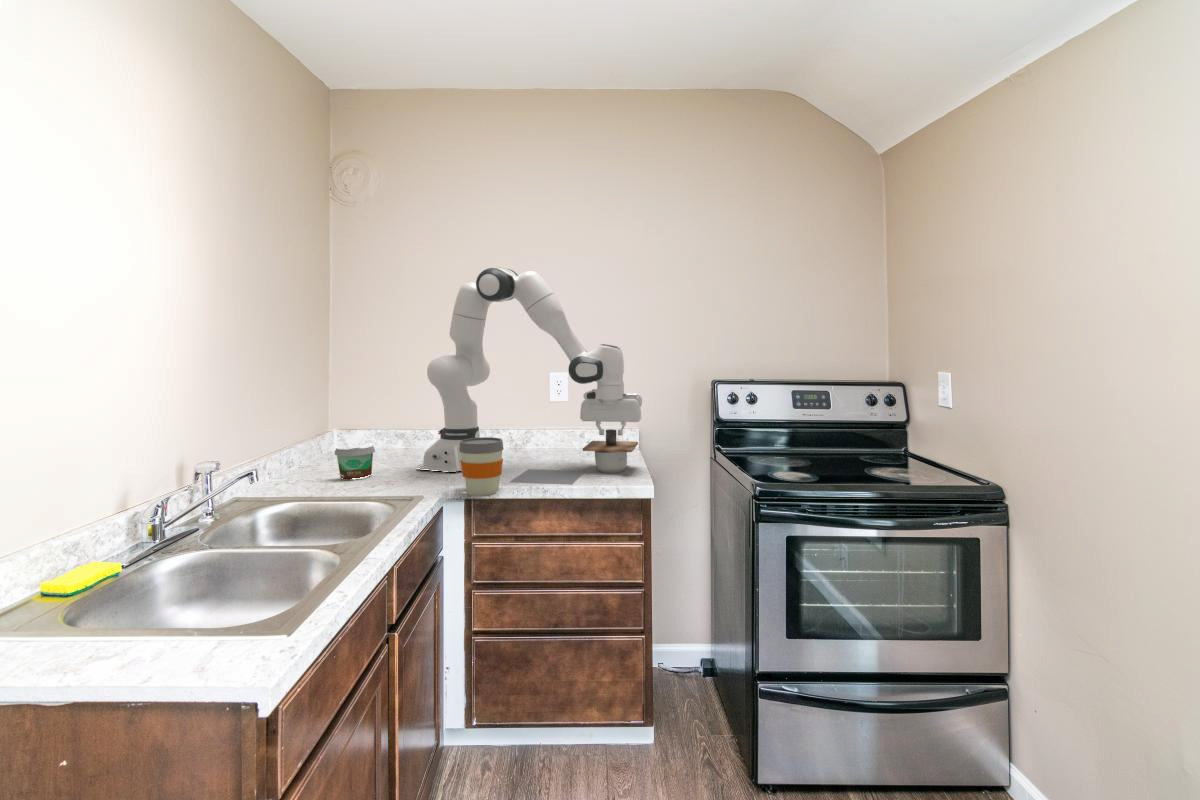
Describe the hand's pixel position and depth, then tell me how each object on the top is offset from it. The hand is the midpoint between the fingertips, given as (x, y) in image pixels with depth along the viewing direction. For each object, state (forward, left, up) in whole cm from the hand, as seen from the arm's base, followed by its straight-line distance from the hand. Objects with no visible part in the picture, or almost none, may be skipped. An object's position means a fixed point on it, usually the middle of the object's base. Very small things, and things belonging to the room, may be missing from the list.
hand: (610, 435), depth 205 cm
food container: (-79, -23, -12) cm, 83 cm away
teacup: (0, 0, -12) cm, 12 cm away
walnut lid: (0, 0, -4) cm, 4 cm away
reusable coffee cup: (-32, -34, -12) cm, 48 cm away
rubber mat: (-18, -13, -12) cm, 25 cm away
